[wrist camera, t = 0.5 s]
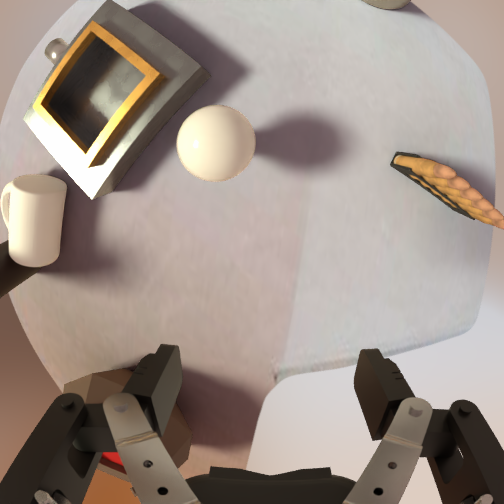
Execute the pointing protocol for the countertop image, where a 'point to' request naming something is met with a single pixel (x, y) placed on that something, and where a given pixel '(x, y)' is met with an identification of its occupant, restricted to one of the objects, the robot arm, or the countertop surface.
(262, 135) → the countertop surface
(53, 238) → the mug
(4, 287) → the bottle
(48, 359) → the countertop surface
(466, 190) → the ammunition clip
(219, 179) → the lightbulb
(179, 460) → the brown cauldron
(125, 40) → the grey shallow box
